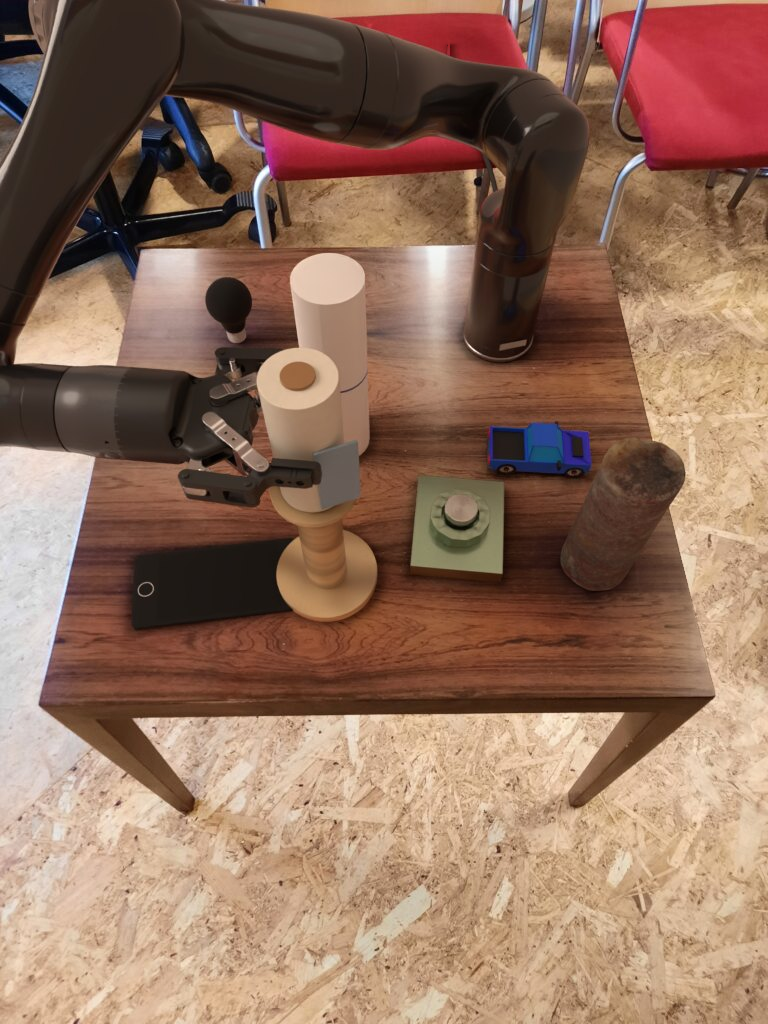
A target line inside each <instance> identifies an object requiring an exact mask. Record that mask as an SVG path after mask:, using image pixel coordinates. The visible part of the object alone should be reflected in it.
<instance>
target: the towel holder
mask: <svg viewBox="0 0 768 1024" xmlns="http://www.w3.org/2000/svg"><path fill="white" fill-rule="evenodd" d="M268 489H269V497H270V501H271V504H272V506H273V508H274V510H275V511H276V513H277V514H278V515H279V516H280V517H282V518H283V519H284V520H285V521H287V522H288V523H290V524H293V525H295V526H296V527H297V532H298V536H297V537H296V538H294V539H295V540H293V541H292V542H291V543H290V544H289V545H288V546H287V548H286V549H285V550H284V552H283V553H282V555H281V557H280V559H279V562H278V566H277V584H278V587H279V590H280V593H281V595H282V597H283V599H284V600H285V602H286V603H287V604H288V605H289V606H290V607H291V608H292V609H293V611H292V612H294V613H295V614H296V615H298V616H300V617H302V618H304V619H306V620H307V619H308V620H310V621H314V622H319V623H331V622H337V621H342V620H345V619H348V618H350V617H352V616H354V615H355V614H356V613H359V612H360V611H361V610H362V609H363V608H364V607H365V606H366V605H367V604H368V603H369V601H370V600H371V599H372V597H373V595H374V593H375V590H376V588H377V583H378V564H377V563H378V562H377V560H376V557H375V554H374V552H373V550H372V549H371V546H369V545H368V543H367V542H366V541H365V540H364V539H363V538H362V537H360V536H358V535H357V534H355V533H353V532H351V531H349V530H346V529H344V524H343V518H345V516H347V515H348V514H349V513H350V512H351V511H352V509H353V508H354V506H355V505H356V503H357V500H358V498H356V499H353V500H350V501H347V502H344V503H341V504H338V505H335V506H333V507H331V508H329V509H327V510H324V511H321V512H304V511H300V510H297V509H295V508H294V507H292V506H290V505H289V504H288V503H287V502H286V501H285V499H284V498H283V496H282V494H281V490H280V487H277V486H273V487H270V488H268Z"/></svg>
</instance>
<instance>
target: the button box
mask: <svg viewBox="0 0 768 1024" xmlns="http://www.w3.org/2000/svg"><path fill="white" fill-rule="evenodd" d="M416 485H417V487H416V495H415V497H416V498H415V508H414V519H413V531H412V542H411V550H410V551H411V552H410V563H409V575H410V576H421V577H431V578H444V579H456V580H464V581H465V580H466V581H478V582H490V583H498V584H499V583H501V581H502V579H503V575H504V542H505V541H504V537H505V535H504V534H505V533H504V531H505V530H504V529H505V481H502V480H500V481H499V480H487V479H477V478H476V479H475V478H462V477H452V476H451V477H450V476H439V475H438V476H437V475H426V474H418V475H417V484H416ZM455 494H466V495H469V496H470V497H472V498H473V499H474V500H475V501H476V503H477V505H478V513H477V518H476V521H475V523H474V524H473V525H472V526H471V527H469V528H467V529H462V530H461V529H455V528H453V527H451V526H449V525H448V524H447V522H446V521H445V519H444V509H445V503H446V501H447V500H448V499H449V498H450V497H451V496H453V495H455Z"/></svg>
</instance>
